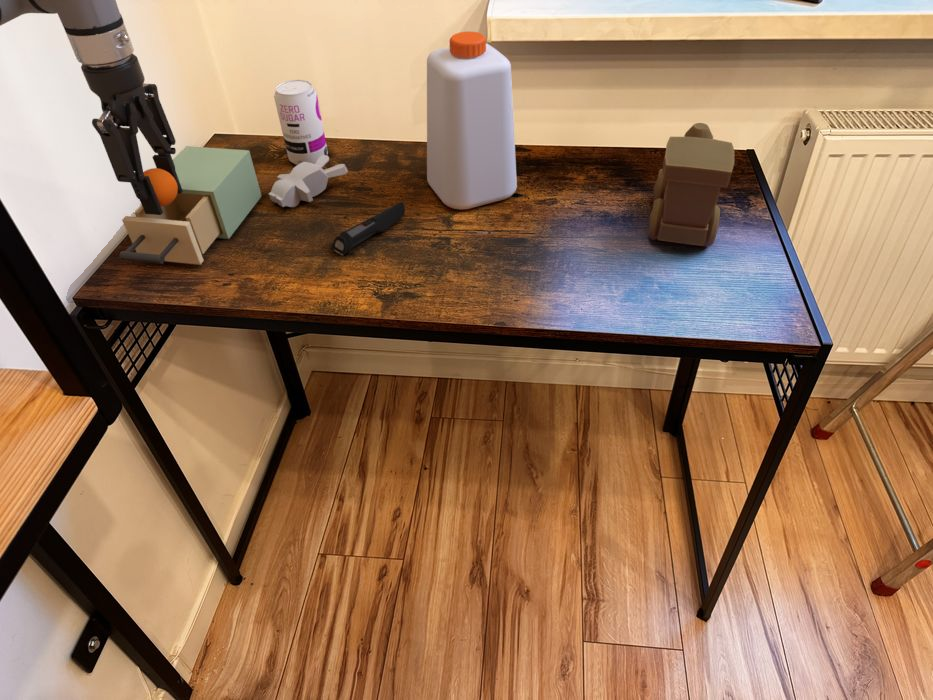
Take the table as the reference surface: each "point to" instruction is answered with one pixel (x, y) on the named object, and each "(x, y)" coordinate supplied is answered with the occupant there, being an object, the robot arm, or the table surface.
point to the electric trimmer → (368, 228)
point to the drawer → (173, 231)
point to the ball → (162, 185)
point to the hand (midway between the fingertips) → (164, 202)
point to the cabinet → (220, 182)
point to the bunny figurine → (304, 182)
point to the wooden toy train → (691, 188)
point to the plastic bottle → (470, 123)
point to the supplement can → (300, 121)
